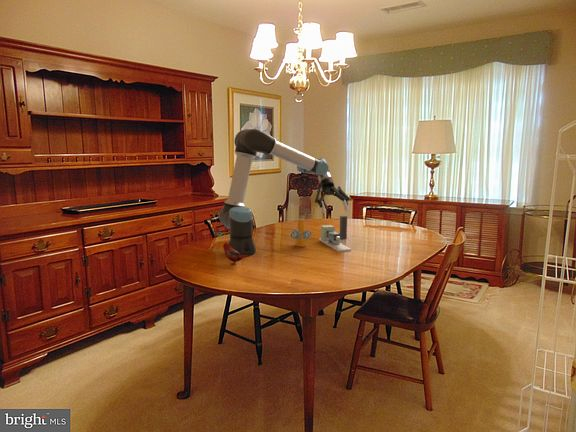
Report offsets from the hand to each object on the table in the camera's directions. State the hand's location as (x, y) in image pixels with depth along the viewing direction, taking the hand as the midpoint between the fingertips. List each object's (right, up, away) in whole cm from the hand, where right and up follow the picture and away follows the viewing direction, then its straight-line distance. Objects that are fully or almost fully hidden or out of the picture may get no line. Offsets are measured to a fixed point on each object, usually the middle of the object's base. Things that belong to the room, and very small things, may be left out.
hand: (336, 211), depth 232 cm
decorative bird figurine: (-51, -26, -35) cm, 67 cm away
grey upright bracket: (+1, -16, 0) cm, 16 cm away
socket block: (-3, -16, +14) cm, 22 cm away
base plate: (0, -19, +4) cm, 20 cm away
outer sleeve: (-1, -18, +5) cm, 19 cm away
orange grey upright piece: (-19, -19, +4) cm, 27 cm away
